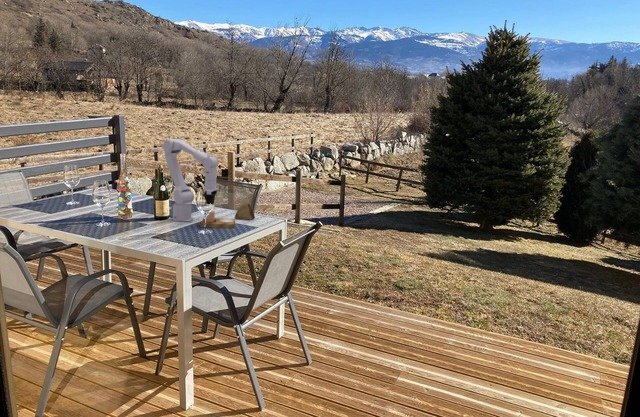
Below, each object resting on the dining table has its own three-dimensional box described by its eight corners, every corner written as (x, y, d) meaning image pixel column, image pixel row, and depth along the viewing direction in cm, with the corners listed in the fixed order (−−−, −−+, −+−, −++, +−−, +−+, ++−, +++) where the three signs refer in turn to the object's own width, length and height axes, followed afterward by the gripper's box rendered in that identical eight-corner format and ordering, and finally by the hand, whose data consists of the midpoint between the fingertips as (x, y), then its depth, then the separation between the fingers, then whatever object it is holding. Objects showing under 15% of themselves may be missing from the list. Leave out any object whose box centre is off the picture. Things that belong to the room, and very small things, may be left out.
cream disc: (219, 222, 248) (219, 221, 248) (220, 219, 255) (220, 218, 254) (232, 223, 248) (232, 222, 248) (233, 219, 255) (233, 218, 255)
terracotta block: (206, 225, 249) (206, 212, 247) (207, 223, 253) (207, 210, 251) (213, 225, 249) (213, 212, 248) (214, 223, 253) (214, 211, 252)
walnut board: (200, 227, 245) (200, 223, 244) (203, 221, 256) (203, 218, 256) (233, 228, 247) (233, 224, 246) (235, 222, 258) (235, 218, 258)
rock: (229, 215, 264) (243, 215, 259) (234, 201, 267) (248, 202, 262) (240, 223, 272) (254, 224, 267) (245, 210, 275) (258, 211, 270)
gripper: (217, 182, 239) (216, 208, 242) (219, 178, 253) (219, 202, 256) (202, 182, 238) (202, 208, 241) (206, 177, 253) (206, 202, 256)
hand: (210, 205), depth 249 cm, fingers open, 7 cm apart
